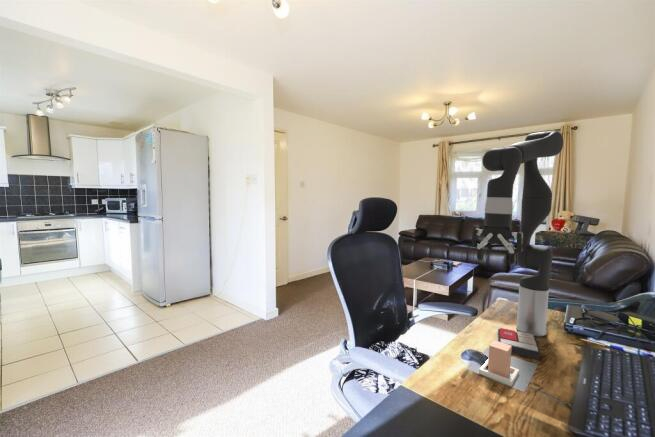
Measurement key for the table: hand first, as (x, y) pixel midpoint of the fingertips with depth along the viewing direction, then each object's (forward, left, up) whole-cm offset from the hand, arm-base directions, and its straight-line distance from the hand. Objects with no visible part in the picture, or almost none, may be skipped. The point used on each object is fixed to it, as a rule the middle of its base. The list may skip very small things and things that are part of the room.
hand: (495, 262), depth 95 cm
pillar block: (+12, +6, -29) cm, 32 cm away
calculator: (-11, +6, -31) cm, 33 cm away
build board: (+8, +6, -30) cm, 32 cm away
